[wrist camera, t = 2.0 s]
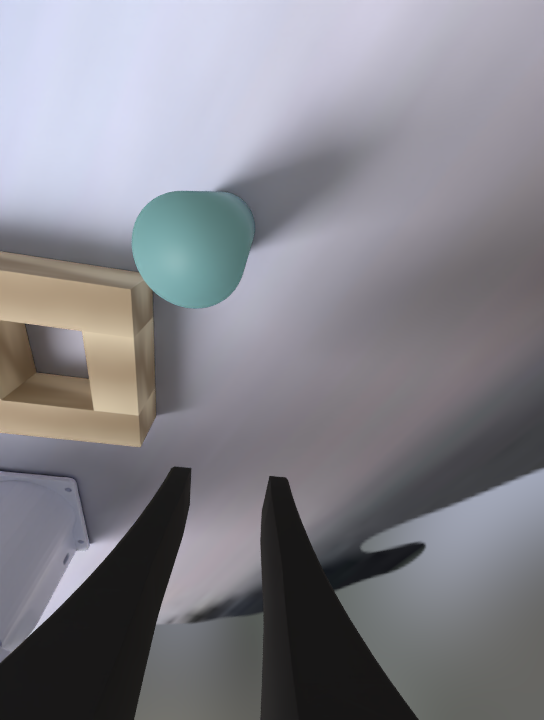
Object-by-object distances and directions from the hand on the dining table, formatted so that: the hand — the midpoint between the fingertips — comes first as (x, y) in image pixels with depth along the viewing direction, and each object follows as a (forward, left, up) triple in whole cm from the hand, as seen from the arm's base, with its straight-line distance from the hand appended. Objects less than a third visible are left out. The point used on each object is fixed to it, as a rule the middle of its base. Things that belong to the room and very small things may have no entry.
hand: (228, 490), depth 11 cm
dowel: (+8, +2, -9) cm, 13 cm away
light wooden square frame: (0, +11, -9) cm, 14 cm away
